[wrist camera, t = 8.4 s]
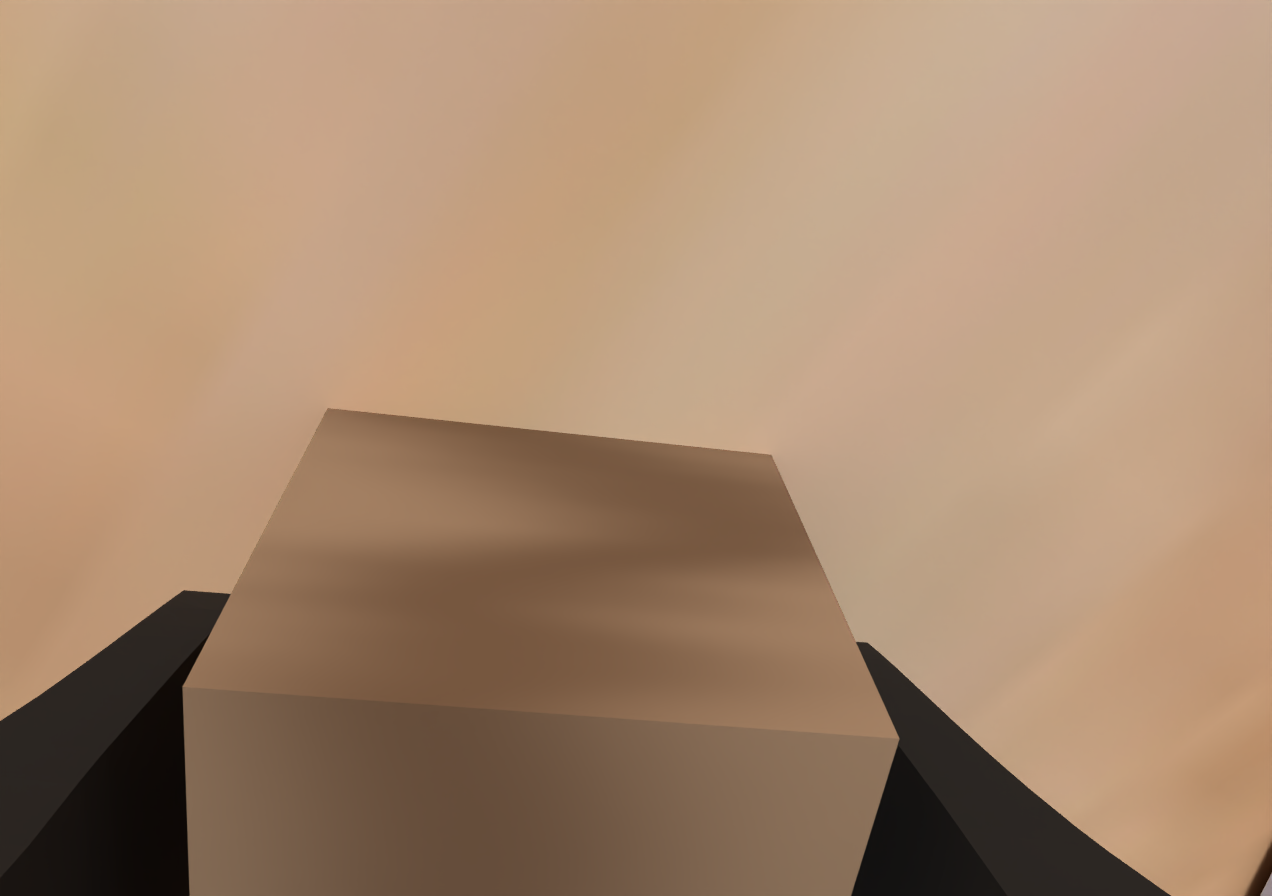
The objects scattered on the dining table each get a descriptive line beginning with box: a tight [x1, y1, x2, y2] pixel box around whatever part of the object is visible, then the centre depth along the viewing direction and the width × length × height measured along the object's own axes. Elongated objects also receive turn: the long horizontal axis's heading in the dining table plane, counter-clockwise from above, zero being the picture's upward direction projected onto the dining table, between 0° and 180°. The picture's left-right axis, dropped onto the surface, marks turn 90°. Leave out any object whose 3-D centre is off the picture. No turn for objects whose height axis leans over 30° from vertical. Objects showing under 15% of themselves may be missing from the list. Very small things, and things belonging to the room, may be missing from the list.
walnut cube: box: [183, 408, 899, 896], centre depth 11 cm, size 5×5×5 cm
